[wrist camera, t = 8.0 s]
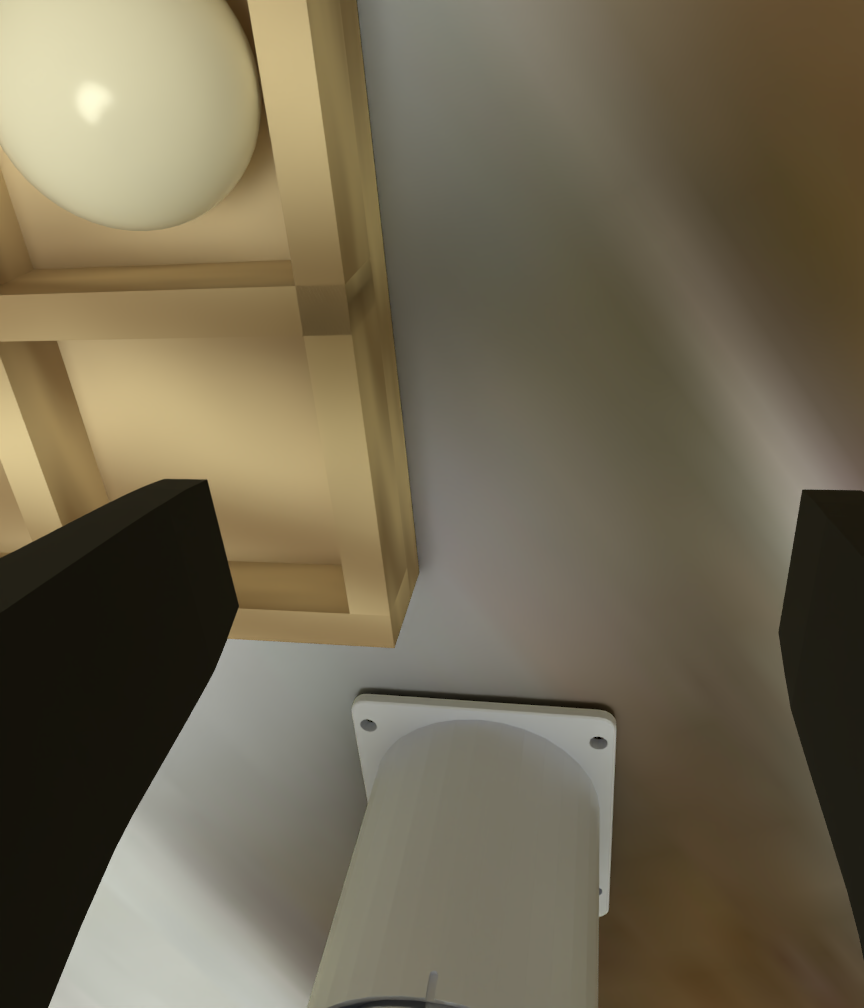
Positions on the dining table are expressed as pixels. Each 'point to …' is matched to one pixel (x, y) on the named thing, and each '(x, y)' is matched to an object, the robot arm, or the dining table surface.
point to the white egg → (128, 106)
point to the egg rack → (229, 355)
